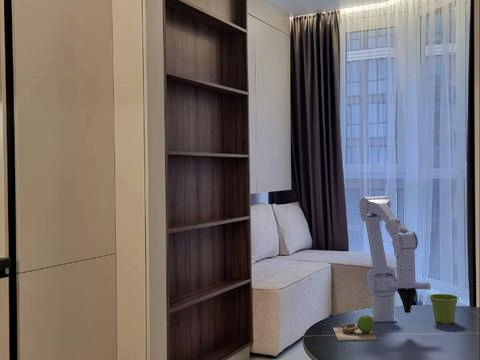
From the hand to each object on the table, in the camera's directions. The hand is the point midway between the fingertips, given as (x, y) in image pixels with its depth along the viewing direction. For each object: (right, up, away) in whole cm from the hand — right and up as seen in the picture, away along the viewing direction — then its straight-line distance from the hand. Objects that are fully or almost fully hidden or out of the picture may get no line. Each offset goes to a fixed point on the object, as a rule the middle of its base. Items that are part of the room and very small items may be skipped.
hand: (407, 312), depth 165 cm
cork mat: (-17, -7, +1) cm, 18 cm away
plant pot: (+17, -7, +13) cm, 22 cm away
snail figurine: (-10, -3, +1) cm, 11 cm away
